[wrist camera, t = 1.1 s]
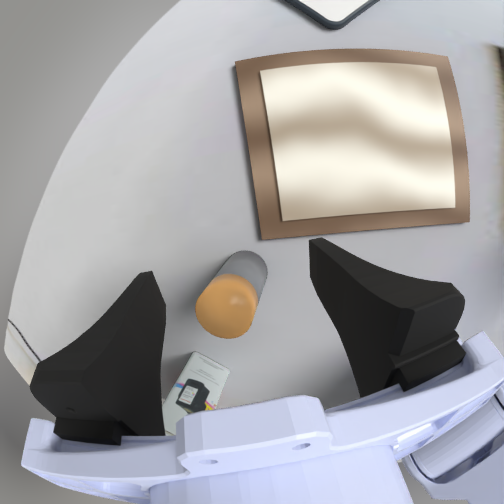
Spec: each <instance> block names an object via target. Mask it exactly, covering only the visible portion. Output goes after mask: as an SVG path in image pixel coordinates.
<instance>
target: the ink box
mask: <svg viewBox="0 0 504 504" xmlns="http://www.w3.org/2000/svg"><path fill="white" fill-rule="evenodd" d="M229 372H230V370H229V369H227V368H226V367H224V366H222V365H220V364H218V363H216V362H215V361H213V360H211V359H209V358H207V357H205V356H203V355H201V354H199V353H198V352H193V354H192V355H191V357H190V359H189V360H188V362H187V364H186V365H185V367H184V369H183V371H182V372H181V374H180V376H179V377H178V379H177V381H176V383H175V384H174V386H173V388H172V389H171V391H170V393H169V394H168V396H167V398H166V400H165V401H164V403H163V405H162V412H163V420H164V428H165V434H166V436H173V435H176V422H178V421H179V420H180V419H181V418H183V417H184V416H185V415H187V414H191V413H195V412H199V411H205V410H213V409H215V408H216V406H217V403H218V401H219V398H220V395H221V393H222V390H223V388H224V385H225V383H226V380H227V377H228V375H229Z"/></svg>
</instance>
